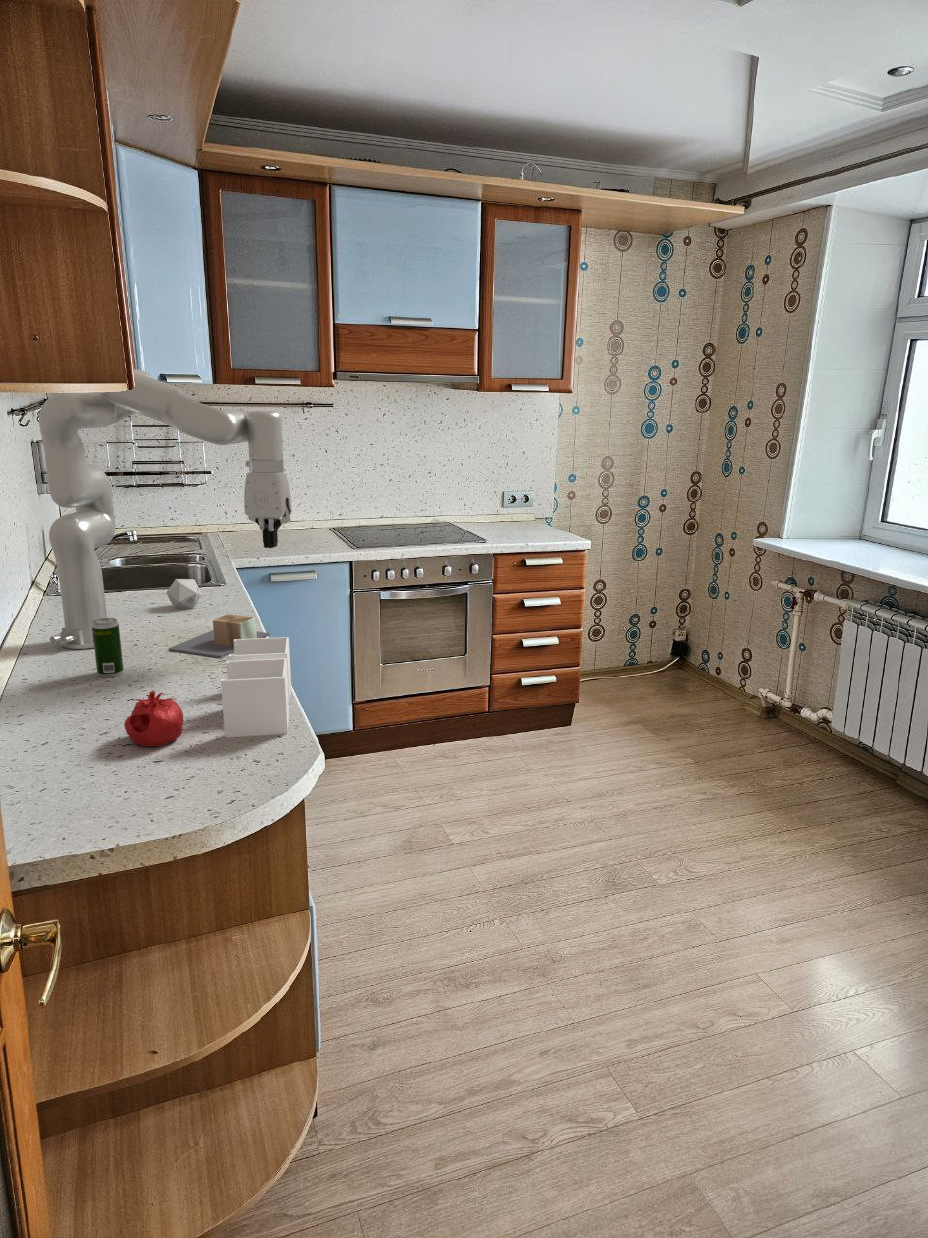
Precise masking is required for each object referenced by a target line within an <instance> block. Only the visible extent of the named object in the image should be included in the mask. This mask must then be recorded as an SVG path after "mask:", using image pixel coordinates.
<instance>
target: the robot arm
mask: <svg viewBox="0 0 928 1238" xmlns="http://www.w3.org/2000/svg"><path fill="white" fill-rule="evenodd" d="M133 369H134V380H135V387H134V388H133V389H132V390H126V391H121V392H105V393H59V392H57V393H55V394H53V395H51V396H50V397H49V398H48V399H46V400H45V402H43V404H42V406H41V408H40V410H39V411H40V412H39V416H38V424H39V425H38V426H39V427H38V428H39V432H40V437H41V442H42V446H43V453H44V462H45V470H46V477H47V485H48V491H49V494H50V497H51V498H50V499H51V500H52V501H53V503H55V504H56V505H57V506H59V507H61V508H66V509H68V508H69V509H71V508H73V509H74V508H75V511H74V512H71V513H67V514H64V515H62V516H60V517H57V518H56V519H55V521H53V522H52V524H51V526H50V527H49V532H48V540H49V544H50V547H51V550H52V552H53V556H54V560H55V563H56V569H57V576H58V583H59V589H60V590H59V592H60V598H61V605H62V613H63V621H64V627H61V632H60V633H59V634H55V635H52V636H50V637H49V642H50V643H51V644H52V645H56V644H59V645H60V646H61V647H62V648H66V649H71V650H84V649H85V650H86V649H94V643H93V634H92V625H93V624H92V622H93V621H94V620H96V619H101V618H108V614H107V606H106V598H105V597H106V595H105V587H104V579H103V572H102V571H103V570H102V565H101V562H100V560H99V558H98V556H97V553H96V551H95V549H98V548H101V547H103V546H106V545H108V544H109V543H110V542H111V541H112V540H113V539H114V536H115V534H116V516H115V509H114V507H115V506H114V500H113V491H112V485H111V482H110V479H109V478H108V476H107V474H106V473H105V472H104V471H103V470H102V468H100V467H99V466H97V465H95V464H90V463H87V460H86V450H85V445H84V443H83V441H82V438H81V437H80V435H79V431H80V430H83V429H96V428H97V429H98V428H105V427H108V426H111V425H113V424H114V425H115V424H116V423H119V422H120V421H122V420H125V419H126V418H129V417H131V416H132V415H134V414H138V415H140V416H145V417H148V418H150V419H153V420H156V421H157V422H161V423H164V424H166V425H168V426H169V427H171V428H174V429H175V430H176V431H179V432H181V433H182V434H185V435H188V436H190V437H193V438H195V439H199V440H201V441H204V442H208V443H210V444H213V445H219V446H227V445H235V444H240V443H248V444H247V446H248V460H247V461H246V462H245V467H247V468H249V472H247V473H246V475H245V481H244V482H245V483H244V493H243V494H244V495H243V498H244V500H243V503H244V504H243V505H244V506H243V507H244V514H245V516H247V517H248V518H247V519H248V520H249V521H251V522H252V523H253V522H254V523H256V524H257V525H258V526H259V530H260V531H261V532H262V542H263V548H265V549H272V548H276V547H278V543H279V537H278V536H279V535H278V530H279V529H280V527H281V526H282V525H283V524H284V525H285V524H288V523H291V520H292V519H291V516H290V515H291V514H292V499H291V492H290V491H291V490H290V484H289V480H288V477H287V476H288V475H287V474H286V473H285V469H284V467H285V466H284V447H283V445H284V444H283V443H284V442H283V426H282V424H283V423H282V416H281V414H280V413H279V412H277V411H272V410H252V411H250V410H244V409H243V410H242V409H237V408H236V409H235V408H230V409H229V408H228V409H219V408H216V407H212V406H210V405H207V404H204V403H202V402H198V401H196V400H194V399H192V398H189V397H187V396H186V395H184V393H183V391H182V389H181V388H179V387H178V386H176V385H172V384H170V383H167V382H164V381H161V380H158V379H155V378H154V377H153V376H152V375H151V374H150V373H148V372H147V371H144V370H141V369H137V368H133Z"/></svg>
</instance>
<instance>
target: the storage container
mask: <svg viewBox="0 0 928 1238" xmlns="http://www.w3.org/2000/svg"><path fill="white" fill-rule="evenodd" d="M290 653H291V652H290V638H289V636H287V637H286V636H282V637H265V638H256V639H234V652H233V654H232V653H231V654H228V660H227V661H226V675H227V679H224V678H221V680H220V686H221V687H220V688H221V701H222V712H223V714H222V715H223V726H224V737H225V738H236V737H237V738H239V737H240V738H241V737H250V736H251V737H256V736H270V735H286V734H289V733H288V732H289V723H290V721H289V720H290V706H291V696H292V695H291V694H292V693H291V692H292V676H291V675H292V674H291V672H292V671H291V657H290V656H291V655H290Z"/></svg>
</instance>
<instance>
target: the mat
mask: <svg viewBox="0 0 928 1238" xmlns="http://www.w3.org/2000/svg"><path fill="white" fill-rule="evenodd" d="M256 632H257V638H264V637H265V638H268V637H269V636H270V635H271V633H270V632H266V631H265V632H264V631H258V630H256ZM168 651H170V652H177V653H185V654H192V655H197V656H198V655H199V656H205V657H212V658H219V659H221V658H224V657H226V656H229V654H231V655H232V654H234V647H232V646H225V645H217V644H215V641H214V629H212V630H209V631H207V632H204V633H203V634H200V635H197V636H195V637H193V638H191V639H188V640H186V641H183V642H180V643H179V644H176V645H173V646H171V647H169V648H168Z"/></svg>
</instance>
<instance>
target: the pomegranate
mask: <svg viewBox="0 0 928 1238" xmlns="http://www.w3.org/2000/svg"><path fill="white" fill-rule="evenodd" d="M162 695H165V693H164V692H160V693H158V694H157V695H156V691H155V690H151V691H150V692H149V693H148V694H146V695H145V696H146V697H147V698H145V699H141V698H137V699H131V702H133V701H134V702H135V701H136V703H135V706H134V707H133V709H132V711H131V714H130V716H128V717H127V718H126V719H125V721H124V724H123V726H124V730H125V732H126V734H127V735H128V738H129V740H131V741H132V742H134V743H135V744H137V745H139V746H143V747H162V746H165V745H166V744H168V743H171V742H174V741H176V740H178V738H180V736H181V735H182V732H183V728H184V727H183V725H184V724H183V723H184V713H183V711H182V709H181V707H180V704H178V703H177V702H176V701H175V700H177V698H173V697H170V698H160V697H161V696H162Z"/></svg>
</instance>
